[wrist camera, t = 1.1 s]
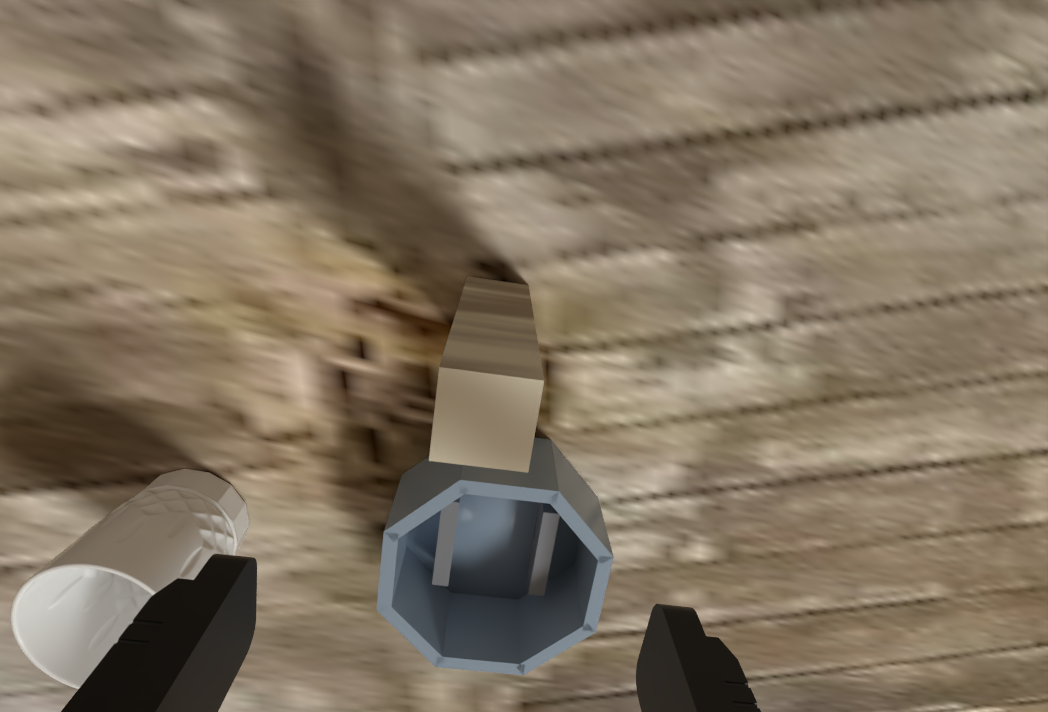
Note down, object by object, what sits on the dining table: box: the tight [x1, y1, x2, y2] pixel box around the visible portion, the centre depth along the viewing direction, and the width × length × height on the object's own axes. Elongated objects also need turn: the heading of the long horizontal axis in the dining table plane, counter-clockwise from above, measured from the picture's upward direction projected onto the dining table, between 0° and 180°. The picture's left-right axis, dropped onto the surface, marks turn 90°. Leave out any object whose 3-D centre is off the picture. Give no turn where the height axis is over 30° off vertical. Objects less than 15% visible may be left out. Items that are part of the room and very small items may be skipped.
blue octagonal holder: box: [377, 438, 613, 675], centre depth 36 cm, size 13×13×6 cm
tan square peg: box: [429, 276, 544, 473], centre depth 28 cm, size 4×4×15 cm
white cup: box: [10, 469, 249, 689], centre depth 34 cm, size 8×8×10 cm
